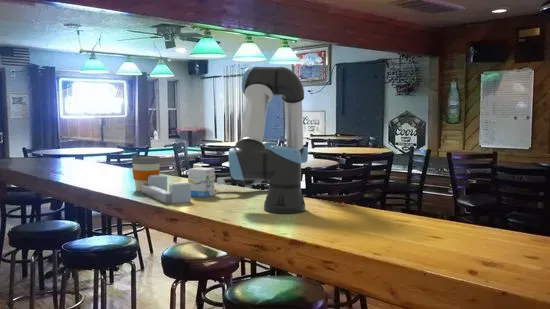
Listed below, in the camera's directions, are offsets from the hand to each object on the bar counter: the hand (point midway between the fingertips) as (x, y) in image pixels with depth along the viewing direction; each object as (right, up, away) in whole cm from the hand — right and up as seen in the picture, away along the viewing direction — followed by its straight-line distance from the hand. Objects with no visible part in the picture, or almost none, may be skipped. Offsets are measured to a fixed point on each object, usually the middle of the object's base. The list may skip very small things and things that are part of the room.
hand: (209, 179), depth 218 cm
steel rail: (-21, -7, -11) cm, 24 cm away
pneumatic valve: (-6, -5, +22) cm, 23 cm away
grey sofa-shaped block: (-16, -7, -8) cm, 19 cm away
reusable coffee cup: (-30, -5, +11) cm, 32 cm away
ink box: (-3, -7, -2) cm, 8 cm away
